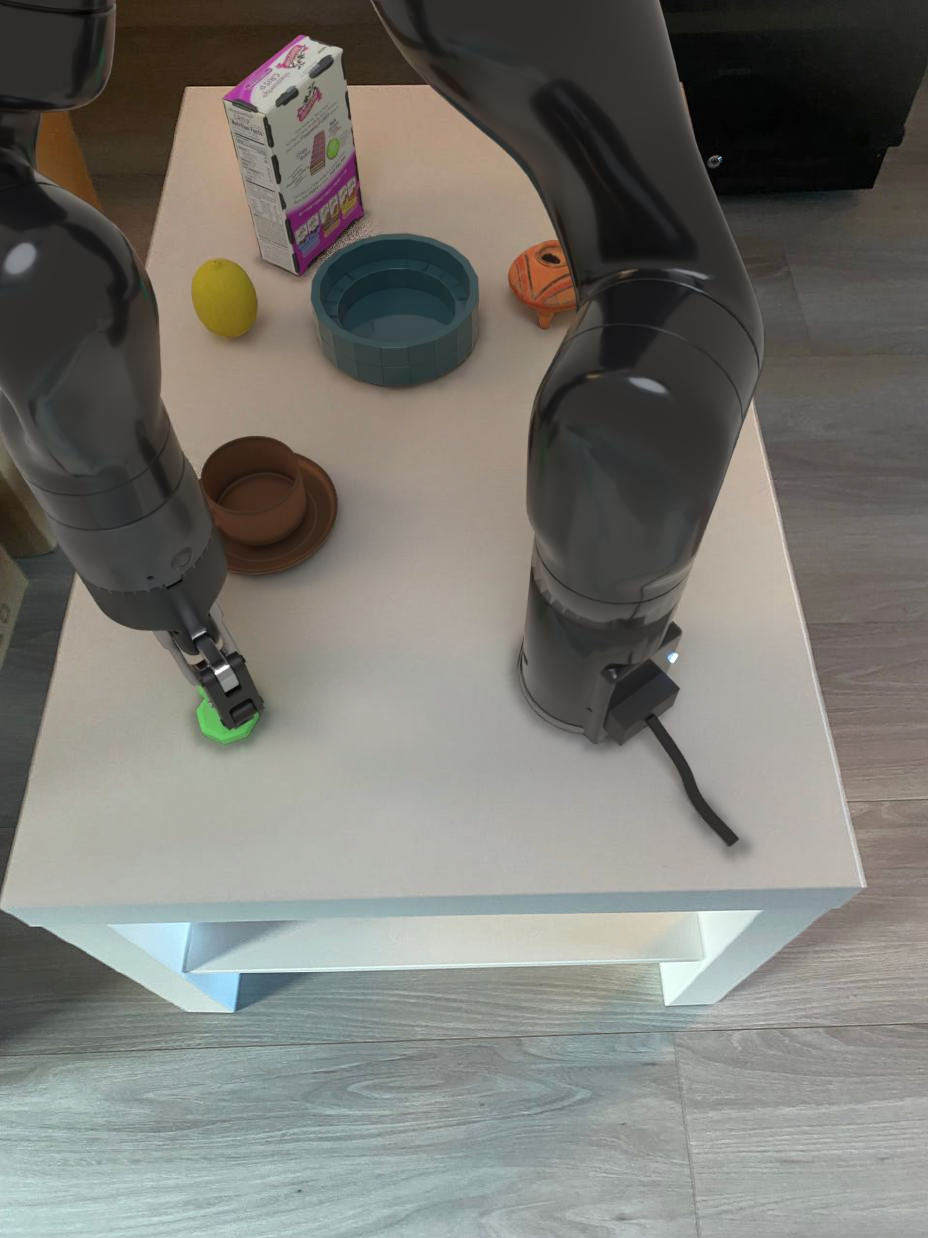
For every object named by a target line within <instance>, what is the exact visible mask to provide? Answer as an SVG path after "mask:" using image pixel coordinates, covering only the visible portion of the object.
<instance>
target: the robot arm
mask: <svg viewBox="0 0 928 1238" xmlns="http://www.w3.org/2000/svg"><path fill="white" fill-rule="evenodd" d="M369 1H370V3H371V5H372V7H373V10H374V11H375V12H376V14H377V16H378V18H379V20H380V22H381V24H382V25H383V27H384V29H385V31H386V33H387V34H388V36H389V38H390V39H391V41H392V42H393V44H394V45H395V47H396V48H397V50H398V51H399V52H400V54H401V55H402V57H403V58H404V59H405V61H406V62H407V63H408V64H409V65H410V66H411V67H412V68H413V69H414V70H415V72H416V73H417V74H418V75H419V76H420V78H422V80H424V81H425V82H426V84H427V85H428V86H429V87H430V88H431V89H433V91H435V92H436V93H437V94H438V95H439V97H441V98H442V99H443V100H445V101H446V102H447V104H449V105H450V106H451V107H452V108H453V109H455V110H456V111H457V112H458V113H459V114H461V115H462V116H463V117H464V118H465V119H466V120H468V121H469V122H470V123H471V124H472V125H473V126H474V127H475V128H477V129H478V130H479V131H481V132H482V133H483V134H484V135H485V136H486V137H488V138H489V139H490V140H491V141H493V142H494V143H495V144H496V145H498V146H499V147H500V148H501V149H502V150H503V151H504V152H505V153H506V154H507V155H508V156H509V157H510V158H511V159H512V160H514V162H515V163H516V164H517V165H518V167H520V169H521V170H522V171H523V173H524V174H525V175H526V176H527V178H528V180H529V182H530V183H531V184H532V186H533V187H534V190H535V191H536V193H537V195H538V197H539V199H540V201H541V203H542V205H543V207H544V209H545V211H546V214H547V216H548V218H549V220H550V223H551V225H552V228H553V230H554V233H555V235H556V238H557V240H558V241H559V243H560V246H561V249H562V251H563V254H564V257H565V260H566V263H567V266H568V269H569V272H570V276H571V280H572V284H573V288H574V292H575V298H576V307H575V316H574V318H573V320H572V321H571V322H570V323H571V324H570V325H569V327H568V330H567V331H566V333H565V335H564V337H563V339H562V340H561V342H560V344H559V346H558V348H557V350H556V352H555V355H554V356H553V358H552V360H551V362H550V364H549V366H548V368H547V370H546V372H545V373H544V375H543V377H542V379H541V381H540V384H539V386H538V387H537V391H536V393H535V395H534V399H533V403H532V407H531V411H530V417H529V424H528V433H527V445H526V446H527V447H526V448H527V449H526V485H525V487H526V488H525V489H526V490H525V506H526V513H527V518H528V521H529V523H530V526H531V527H532V530H533V532H534V533H533V542H532V552H531V560H530V561H531V562H530V571H529V581H528V582H529V583H528V591H527V593H528V594H527V601H526V610H525V611H526V613H525V621H524V622H525V623H524V633H523V638H522V643H521V647H520V651H519V654H518V655H519V656H518V660H517V665H516V669H518V668H519V681H520V686H521V690H522V692H523V695H524V697H525V700H526V701H527V702H528V704H529V705H530V707H531V708H532V709H533V711H534V712H535V713H537V714H538V715H539V717H541V718H542V719H543V720H544V721H546V722H547V723H549V724H550V725H553V726H554V727H556V728H559V729H561V730H564V731H566V732H569V733H570V732H571V733H574V734H580V735H581V734H582V735H583V736H585V737H586V738H588V739H589V741H590V742H591V743H592V744H595V745H596V744H599V743H601V742H602V741H603V740H605V739H606V738H607V737H608V736H610V737H611V739H613V741H614V742H616V744H617V745H618V746H619V747H620V746H622V745H624V744H625V743H627V742H628V741H629V740H630V739H632V738H634V736H636V735H637V734H639V733H640V732H641V731H642V730H643V729H644V728H647V726H648V728H649V730H650V731H651V732H652V733H653V735H654V736H655V738H656V740H658V742H659V743H660V745H661V746H662V748H663V749H664V751H665V752H666V754H667V755H668V757H669V758H670V760H671V761H672V763H673V765H674V767H675V769H677V772H678V774H679V776H680V778H681V781H682V784H683V786H684V790H685V792H686V795H687V796H688V798H689V800H690V802H691V803H692V805H693V806H694V808H695V810H696V811H697V813H698V814H699V815H700V816H701V818H703V820H704V821H705V822H706V823H707V824H708V825H709V827H710V828H712V830H714V831H715V833H716V834H717V835H718V836H719V837H720V838H721V839H722V840H723V841H724V842H725V843H726V844H727V846H728V847H732V846H733V845H734V844H736V843H737V842H738V841H739V840H740V838H739V837H738V836H737V834H736V833H735V832H734V831H733V830H732V829H731V828H730V827H729V826H728V825H727V824H726V823H725V822H724V821H723V820H722V818H720V816H718V815H717V813H716V812H715V811H714V810H713V809H712V808H711V806H710V805H709V804H708V802H707V801H706V799H705V798H704V797H703V795H702V794H701V791H700V790H699V787H698V785H697V781H696V779H695V776H694V773H693V770H692V769H691V767H690V765H689V763H688V761H687V759H686V758H685V756H684V754H683V753H682V751H681V750H680V748H679V746H678V745H677V744H676V742H675V740H674V739H673V738H672V736H671V735H670V734H669V732H668V730H667V729H666V728H665V726H664V724H663V723H662V722H661V720H660V719H659V717H661V716H662V715H663V714H664V713H666V712H667V711H668V710H670V709H671V708H672V707H673V706H674V705H675V702H676V699H677V697H678V695H679V692H680V690H681V688H680V686H678V684H677V683H676V682H674V680H673V679H672V678H671V677H670V676H669V675H668V672H669V671H670V668H671V665H672V664H673V663H674V662H675V661H676V659H678V656H679V654H678V653H676V651H677V648H678V646H679V644H680V641H681V639H682V636H683V630H682V628H681V627H680V626H679V625H678V624H677V623H676V622H675V621H674V618H675V615H676V613H677V610H678V608H679V605H680V602H681V599H682V597H683V593H684V590H685V587H686V585H687V583H688V580H689V577H690V574H691V572H692V568H693V565H694V563H695V561H696V559H697V556H698V555H699V551H700V549H701V545H702V543H703V539H704V536H705V533H706V531H707V528H708V525H709V523H710V519H711V517H712V515H713V511H714V508H715V506H716V504H717V501H718V498H719V495H720V493H721V489H722V487H723V485H724V481H725V478H726V476H727V473H728V470H729V467H730V464H731V461H732V459H733V455H734V452H735V449H736V446H737V443H738V442H739V441H738V440H739V438H740V434H741V431H742V428H743V426H744V423H745V420H746V417H747V415H748V412H749V409H750V406H751V403H752V401H753V398H754V395H755V393H756V390H757V386H758V383H759V381H760V379H761V375H762V372H763V368H764V361H765V350H766V331H765V325H764V319H763V315H762V311H761V310H762V309H761V307H760V304H759V301H758V297H757V295H756V294H757V293H756V291H755V289H754V286H753V284H752V281H751V278H750V276H749V273H748V271H747V268H746V266H745V263H744V261H743V258H742V256H741V253H740V251H739V248H738V246H737V244H736V241H735V238H734V236H733V234H732V232H731V229H730V226H729V224H728V222H727V219H726V216H725V214H724V211H723V208H722V207H721V204H720V201H719V199H718V196H717V194H716V191H715V189H714V186H713V184H712V181H711V179H710V175H709V174H708V170H707V168H706V166H705V163H704V160H703V157H702V155H701V152H700V150H699V146H698V143H697V140H696V137H695V134H694V131H693V128H692V124H691V121H690V119H689V113H688V111H687V107H686V106H687V105H686V102H685V99H684V95H683V91H682V86H681V81H680V77H679V73H678V69H677V64H676V60H675V57H674V52H673V49H672V44H671V40H670V36H669V32H668V29H667V24H666V20H665V17H664V13H663V10H662V6H661V2H660V0H369ZM116 3H117V0H0V436H1V440H2V442H3V444H4V447H5V449H6V450H7V452H8V455H9V456H10V458H11V459H12V461H13V463H14V465H15V467H16V468H17V470H18V471H19V474H20V476H22V478H23V480H24V481H25V483H26V484H27V487H29V489H30V491H31V492H32V495H34V497H35V499H36V500H37V502H38V504H39V505H40V507H41V508H42V511H43V513H44V516H45V519H46V522H47V525H48V526H49V529H50V531H51V532H52V535H53V537H54V539H55V540H56V543H57V544H58V545H59V547H60V548H61V550H62V552H63V553H64V555H65V556H66V559H68V561H69V563H70V564H71V566H72V568H73V569H74V571H75V572H76V574H77V575H78V577H79V579H80V580H81V582H82V583H83V585H84V586H85V588H86V590H87V591H88V593H89V594H90V596H91V597H92V599H93V601H94V602H95V604H96V605H97V607H98V608H99V610H100V611H101V612H102V613H103V614H104V615H105V616H106V617H107V618H108V619H110V620H111V621H113V622H114V623H116V624H118V625H120V626H123V627H125V628H128V629H131V630H136V631H142V632H143V631H145V632H151V631H152V633H153V635H154V636H155V638H156V639H157V641H158V642H159V644H160V645H161V646H162V648H163V649H165V650H168V651H169V652H170V654H171V656H172V657H173V659H174V661H175V663H176V664H177V666H178V668H179V670H180V671H181V672H182V675H183V676H184V677H185V678H186V679H185V680H187V681H188V683H189V684H190V685H192V686H194V687H195V686H197V687H198V685H199V686H201V687H202V689H203V691H204V692H205V694H206V696H207V697H208V699H209V701H208V704H209V705H210V707H211V708H212V709H213V708H214V709H215V710H216V712H217V713H218V715H219V717H220V722H221V723H222V725H223V726H224V727H226V728H227V729H228V730H229V731H230V730H231V729H233V728H234V729H235V730H236V729H237V728H239V727H240V726H242V725H244V724H245V723H247V722H249V721H250V720H252V719H254V715H255V714H256V713H257V712H258V714H260V713H261V712H263V711H264V710H266V707H265V705H264V703H265V701H264V699H263V698H262V696H261V695H260V694H259V691H258V689H257V687H256V685H255V683H254V680H253V678H252V676H251V673H250V671H249V669H248V667H247V665H246V664H247V660H246V659H245V657H244V655H243V654H242V653H241V650H240V649H239V647H238V646H237V644H236V642H235V640H234V638H233V637H232V635H231V633H230V631H229V630H228V628H227V625H226V624H225V622H224V612H223V610H222V607H221V606H220V605H219V603H218V601H217V598H218V597H219V595H220V594H221V592H222V590H223V588H224V586H225V582H226V580H227V575H228V570H227V569H228V562H227V555H226V551H225V548H224V546H223V543H222V540H221V538H220V535H219V532H218V529H217V527H216V524H215V522H214V519H213V516H212V514H211V511H210V508H209V506H208V503H207V500H206V498H205V495H204V492H203V490H202V487H201V484H200V482H199V479H200V478H199V477H198V475H197V473H196V471H195V469H194V467H193V465H192V464H191V462H190V460H189V459H188V457H187V456H186V454H185V453H184V451H183V449H182V446H181V444H180V441H179V438H178V436H177V433H176V431H175V428H174V425H173V422H172V420H171V418H170V414H169V412H168V410H167V407H166V405H165V402H164V400H163V398H162V372H163V371H162V354H161V353H162V351H161V331H160V313H159V305H158V301H157V296H156V293H155V289H154V286H153V283H152V280H151V278H150V276H149V274H148V271H147V269H146V267H145V265H144V263H143V261H142V259H141V257H140V256H139V254H138V253H137V250H136V249H135V247H134V246H133V245H132V243H131V242H130V240H129V239H128V237H127V236H126V234H125V233H124V232H123V231H122V230H121V229H120V228H119V226H118V225H117V224H115V222H114V221H112V220H111V219H110V218H109V217H108V215H106V214H105V213H103V212H102V211H101V210H99V209H98V208H97V207H95V206H94V205H92V204H91V203H89V202H87V201H86V200H84V199H83V198H81V197H79V196H78V195H76V194H74V193H73V192H71V191H70V190H68V189H66V188H65V187H63V186H61V184H59V183H57V182H56V181H54V180H52V179H51V178H49V177H48V176H46V175H44V174H43V173H41V172H40V166H39V158H38V157H39V156H38V148H39V147H38V145H39V144H38V143H39V137H40V131H41V127H42V123H43V119H44V114H48V113H49V114H51V113H63V112H64V113H65V112H68V111H69V112H70V111H74V110H78V109H80V108H83V107H85V106H87V105H89V104H91V103H92V102H94V101H95V100H96V99H97V98H98V97H99V96H100V95H101V94H102V93H103V92H104V90H105V88H106V86H107V84H108V82H109V79H110V76H111V73H112V68H113V62H114V54H115V46H116V32H117V31H116V29H117V4H116ZM220 640H221V642H222V643H221V644H222V645H221V647H220V649H219V648H218V645H217V644H218V643H219V642H220ZM183 653H184V654H186V655H188V656H192V657H193V656H194V657H197V656H199V655H200V656H201V657H202V660H200V661H198V662H197V663H195V664H192V663H189V661H187V659H186V657H185V655H184V654H183Z"/></svg>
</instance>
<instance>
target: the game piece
mask: <svg viewBox="0 0 928 1238" xmlns="http://www.w3.org/2000/svg"><path fill="white" fill-rule="evenodd" d="M197 692H198V695H200V696H201V697H202V698H203V700H202V701H201V703H200V704H199V706H198V708H197V710H195V713H196V716H197V720H198V723H199V726H200V730H201V733H202V735H203V736H204V737H206V738H209V739H211V740H213V741H216V742H218V743H220V744H223V745H228V744H230V743H233V742H236V741H238V740H241V739H244V738H247V737H249V735H250V734H251V732H252V731H253V729H254V727H255V725H256V723H257V722H258V721H259V718H260V713H258V712H257V713H256V714H255V715H254V719H252V720H250V721H249V722H247V723H245V724H244V725H242V726H240V727H239V728H237V729H236V730H235V729H234V728H233V729H231V730H230V731H229V730H228V729H227V728H226V727H224V726H223V725H222V723H221V722H220V717H219V715H218V713H217V712H216V710H215V709H214V708H213V709H212V708H211V707H210V705H209V704H208V701H209V699H208V697H207V696H206V694H205V692H204V691H203V689H202V687H201V686H199V685H197Z"/></svg>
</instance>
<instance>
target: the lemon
mask: <svg viewBox="0 0 928 1238" xmlns="http://www.w3.org/2000/svg"><path fill="white" fill-rule="evenodd" d="M190 292H191V301H192V302H191V303H192V305H193V309H194V311H195V315H196V316H197V318H198V320H199V322H201V324H202V325H203V326H204V327H205V329H206V330H208V331H209V332H211V333H212V334H214V335H216V336H219V337H222V338H236V337H239V336H242V335H244V334H245V333H246V332H248V331H249V330H250V329H251V328H252V326H253V325H254V323H255V322H256V319H257V315H258V309H259V304H258V297H257V292H256V288H255V285H254V283H253V281H252V280H251V278H250V276H249V274H248V273H247V272H246V270H245V269H244V268H243V267H242V266H240V265H239V264H238V263H237V262H234V261H233V260H231V259H228V258H227V259H226V258H221V257H219V258H211V259H209V260H207V261H205V262H203V263H202V264H200V266H199V267H198V268H197V269H196V271H195V272H194V274H193V277H192V280H191V291H190Z"/></svg>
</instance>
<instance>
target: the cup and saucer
mask: <svg viewBox="0 0 928 1238" xmlns="http://www.w3.org/2000/svg"><path fill="white" fill-rule="evenodd" d="M200 472H201V473H200V477H199V478H198V479H199V482H200V484H201V487H202V490H203V492H204V495H205V498H206V500H207V503H208V506H209V508H210V511H211V514H212V516H213V519H214V522H215V524H216V527H217V529H218V532H219V535H220V538H221V540H222V543H223V546H224V548H225V551H226V555H227V562H228V569H227V572H228V571H229V572H232V573H233V572H234V573H236V574H243V575H262V574H263V575H264V574H270V573H275V572H279V571H282V570H285V569H288V568H290V567H293V566H295V565H297V564H299V563H301V562H302V561H304V560H306V559H307V558H309V557H310V556H311V555H313V554H314V553H315V552H317V550H318V549H319V548H321V546H322V545H323V544H324V543H325V541H326V540H327V539H328V537H329V536H330V535H331V532H332V530H333V528H334V526H335V522H336V520H337V515H338V507H339V505H338V504H339V502H338V493H337V489H336V486H335V484H334V482H333V480H332V479H331V477H330V475H329V474H328V473H327V471H326V470H325V469H324V468H323V467H322V466H321V465H320V464H318V462H316V461H314V460H313V459H311V458H309V457H307V456H305V455H303V454H300V453H297V452H294V451H293V449H292V448H291V447H290V446H288V444H286V443H284V442H282V441H281V440H279V439H276V438H274V437H270V436H266V435H247V436H242V437H238V438H237V437H236V438H234V439H231V440H229V441H227V442H225V443H223V444H222V445H220V446H219V447H217V448H216V449H215V450H213V452H212V453H211V454H210V455H209V456H208V457H207V458H206V460H205V462H204V464H203V466H202V468H201V471H200Z"/></svg>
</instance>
